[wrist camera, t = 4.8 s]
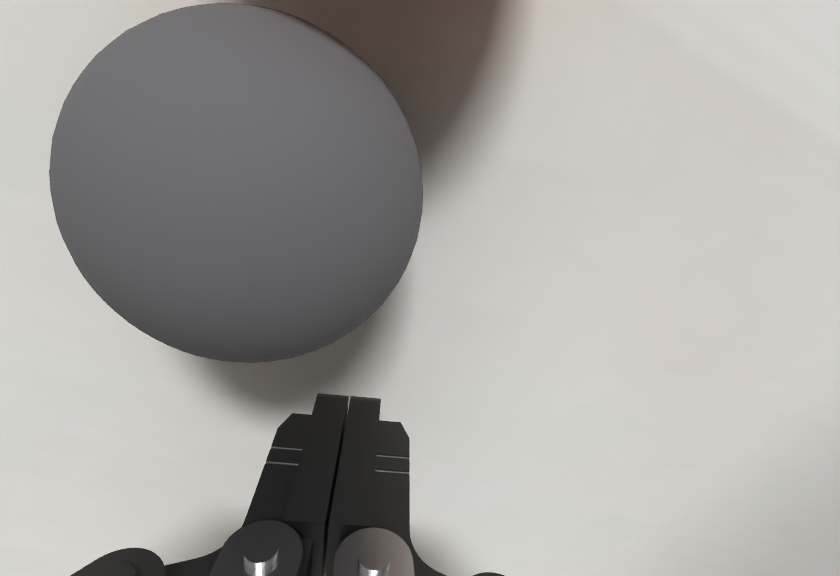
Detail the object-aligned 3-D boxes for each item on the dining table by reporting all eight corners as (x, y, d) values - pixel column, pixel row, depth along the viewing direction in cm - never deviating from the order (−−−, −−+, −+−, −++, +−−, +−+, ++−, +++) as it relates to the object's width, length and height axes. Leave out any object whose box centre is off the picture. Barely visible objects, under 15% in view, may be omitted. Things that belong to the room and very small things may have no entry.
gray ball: (420, 442, 7) (456, 238, 11) (307, 10, 4) (417, -48, 8) (99, 431, 8) (242, 250, 12) (-198, 96, 5) (133, 6, 9)
